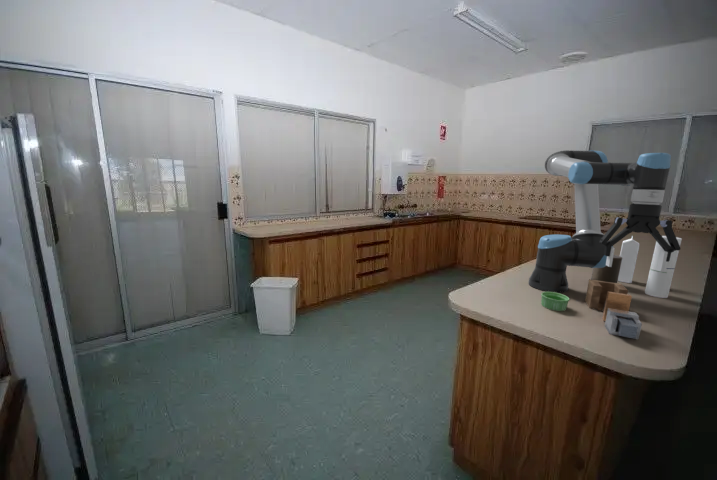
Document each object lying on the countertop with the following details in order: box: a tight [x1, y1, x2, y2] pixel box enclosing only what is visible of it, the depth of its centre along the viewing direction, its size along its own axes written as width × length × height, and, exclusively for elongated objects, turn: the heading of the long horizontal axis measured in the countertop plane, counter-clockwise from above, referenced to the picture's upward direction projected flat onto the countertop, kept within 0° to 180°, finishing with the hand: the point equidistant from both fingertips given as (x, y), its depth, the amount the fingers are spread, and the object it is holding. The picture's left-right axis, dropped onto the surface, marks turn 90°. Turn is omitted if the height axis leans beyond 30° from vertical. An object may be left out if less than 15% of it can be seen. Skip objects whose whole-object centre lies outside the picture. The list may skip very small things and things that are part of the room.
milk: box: [617, 235, 640, 284], centre depth 147 cm, size 6×6×22 cm
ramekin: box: [540, 291, 571, 312], centre depth 116 cm, size 9×9×4 cm
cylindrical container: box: [644, 235, 683, 299], centre depth 129 cm, size 7×7×25 cm
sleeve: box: [604, 308, 643, 340], centre depth 96 cm, size 7×6×6 cm
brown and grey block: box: [601, 292, 638, 339], centre depth 100 cm, size 6×20×10 cm, turn 153°
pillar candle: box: [590, 254, 622, 283], centre depth 143 cm, size 10×10×15 cm
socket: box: [584, 278, 629, 311], centre depth 116 cm, size 10×8×9 cm
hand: (633, 268), depth 101 cm, fingers open, 13 cm apart
